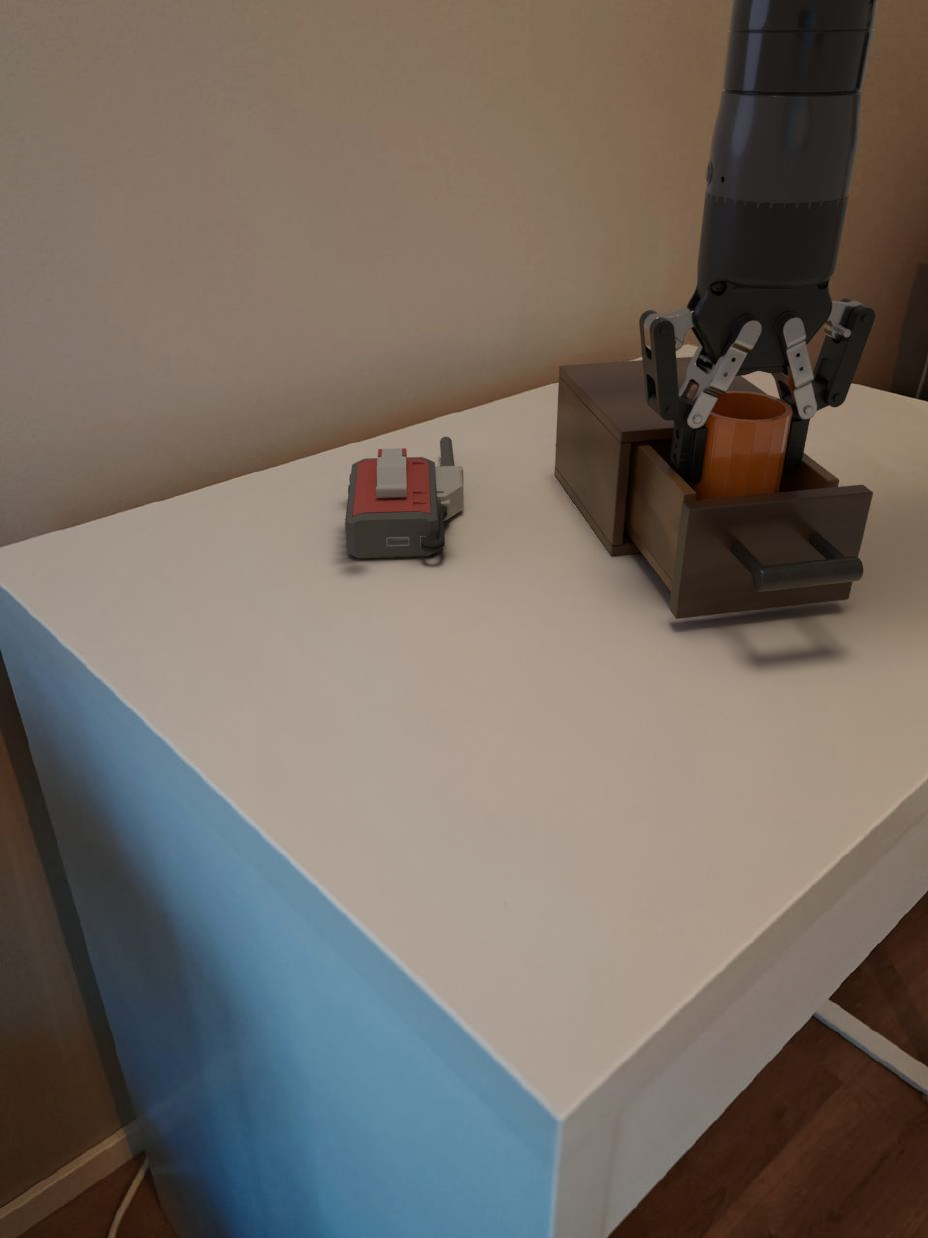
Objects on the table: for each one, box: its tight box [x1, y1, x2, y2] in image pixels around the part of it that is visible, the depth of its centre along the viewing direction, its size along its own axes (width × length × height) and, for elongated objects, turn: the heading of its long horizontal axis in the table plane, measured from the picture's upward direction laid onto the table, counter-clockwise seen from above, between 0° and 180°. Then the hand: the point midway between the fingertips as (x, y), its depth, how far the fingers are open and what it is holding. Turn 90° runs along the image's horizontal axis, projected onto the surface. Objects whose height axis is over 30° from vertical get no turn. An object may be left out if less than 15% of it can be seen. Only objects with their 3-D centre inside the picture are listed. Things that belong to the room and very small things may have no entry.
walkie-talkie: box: [344, 436, 465, 559], centre depth 73 cm, size 9×4×20 cm
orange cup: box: [688, 391, 793, 500], centre depth 60 cm, size 6×6×6 cm
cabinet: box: [554, 356, 769, 557], centre depth 72 cm, size 15×13×9 cm
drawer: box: [624, 439, 874, 620], centre depth 61 cm, size 18×11×7 cm, turn 11°
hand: (734, 473), depth 61 cm, fingers closed on orange cup, 5 cm apart
